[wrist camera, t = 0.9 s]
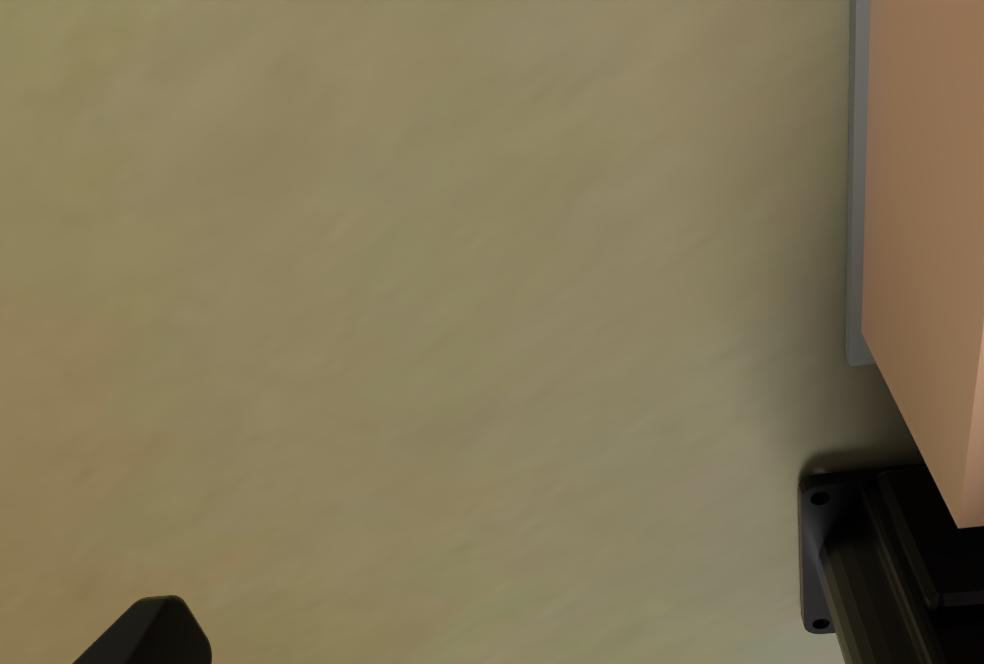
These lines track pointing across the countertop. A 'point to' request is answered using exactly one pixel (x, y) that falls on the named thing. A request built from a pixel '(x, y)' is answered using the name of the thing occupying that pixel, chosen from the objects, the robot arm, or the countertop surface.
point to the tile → (929, 233)
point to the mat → (857, 181)
